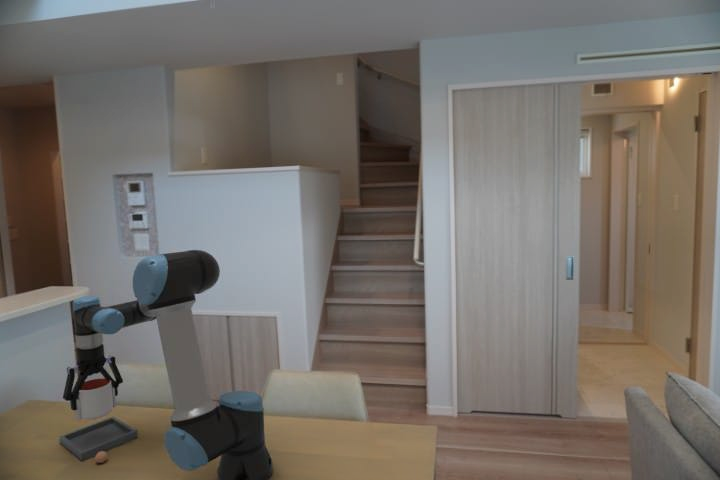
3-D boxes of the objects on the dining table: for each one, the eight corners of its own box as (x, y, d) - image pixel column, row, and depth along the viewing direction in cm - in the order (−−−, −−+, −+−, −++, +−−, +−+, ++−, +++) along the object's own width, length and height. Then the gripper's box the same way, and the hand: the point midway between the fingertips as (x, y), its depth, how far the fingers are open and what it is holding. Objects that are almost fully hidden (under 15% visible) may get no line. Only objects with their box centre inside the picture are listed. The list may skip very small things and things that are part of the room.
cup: (98, 422, 150) (95, 391, 148) (70, 420, 152) (67, 389, 150) (120, 407, 159) (117, 378, 158) (94, 406, 161) (91, 377, 160)
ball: (109, 461, 144) (108, 451, 143) (98, 466, 141) (97, 456, 141) (105, 457, 146) (104, 447, 145) (93, 462, 143) (92, 452, 143)
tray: (137, 437, 157) (136, 430, 157) (81, 461, 144) (80, 453, 144) (114, 422, 168) (113, 416, 168) (60, 443, 155) (59, 436, 155)
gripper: (120, 334, 164) (125, 396, 166) (45, 353, 146) (52, 422, 149) (131, 338, 159) (136, 402, 162) (54, 358, 142) (61, 429, 144)
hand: (96, 412), depth 155 cm, fingers closed on cup, 10 cm apart
